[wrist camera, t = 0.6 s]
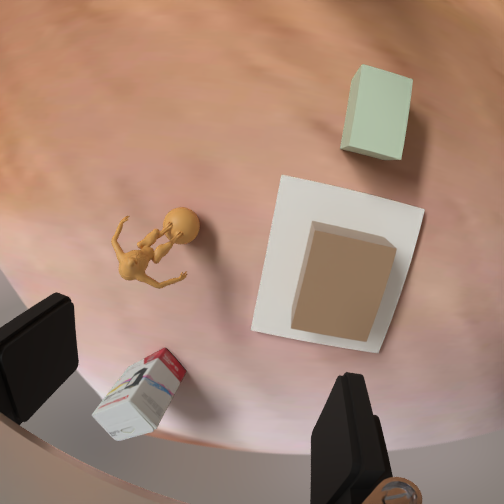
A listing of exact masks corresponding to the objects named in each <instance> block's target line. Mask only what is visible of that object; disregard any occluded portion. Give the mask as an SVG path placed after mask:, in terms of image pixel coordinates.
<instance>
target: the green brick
mask: <svg viewBox="0 0 504 504" xmlns="http://www.w3.org/2000/svg"><path fill="white" fill-rule="evenodd" d="M412 83H413V79H410V78H407V77H404V76H401V75H398V74H395V73H392V72H388V71H385V70H382V69H378V68H375V67H371V66H368V65H364V64H362V65H361V66H360V68H359V69H358V71H357V72H356V74H355V75H354V77H353V78H352V81H351V87H350V94H349V100H348V106H347V112H346V118H345V124H344V129H343V135H342V140H341V146H340V149H342V150H347V151H351V152H355V153H359V154H362V155H366V156H370V157H374V158H378V159H381V160H401V158H402V152H403V146H404V140H405V134H406V128H407V122H408V115H409V108H410V100H411V92H412Z"/></svg>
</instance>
